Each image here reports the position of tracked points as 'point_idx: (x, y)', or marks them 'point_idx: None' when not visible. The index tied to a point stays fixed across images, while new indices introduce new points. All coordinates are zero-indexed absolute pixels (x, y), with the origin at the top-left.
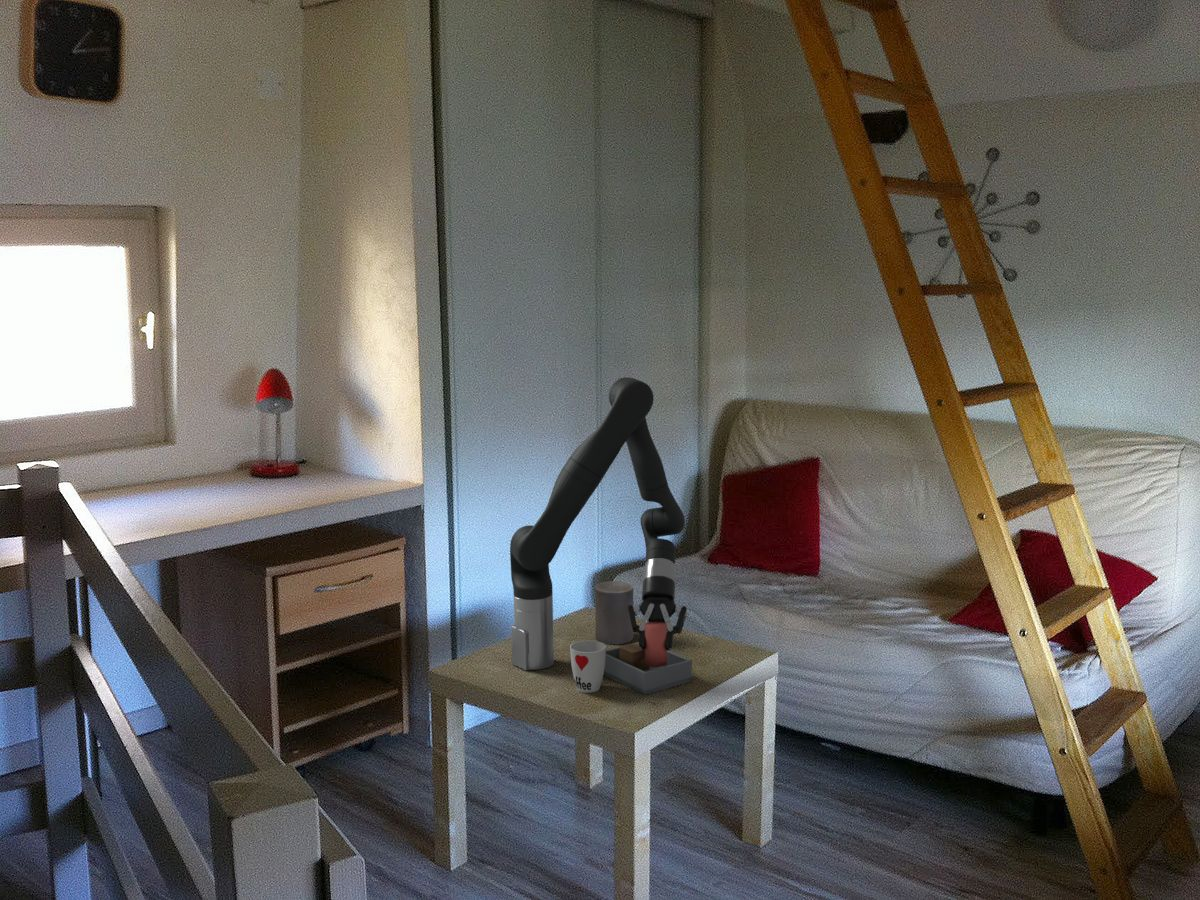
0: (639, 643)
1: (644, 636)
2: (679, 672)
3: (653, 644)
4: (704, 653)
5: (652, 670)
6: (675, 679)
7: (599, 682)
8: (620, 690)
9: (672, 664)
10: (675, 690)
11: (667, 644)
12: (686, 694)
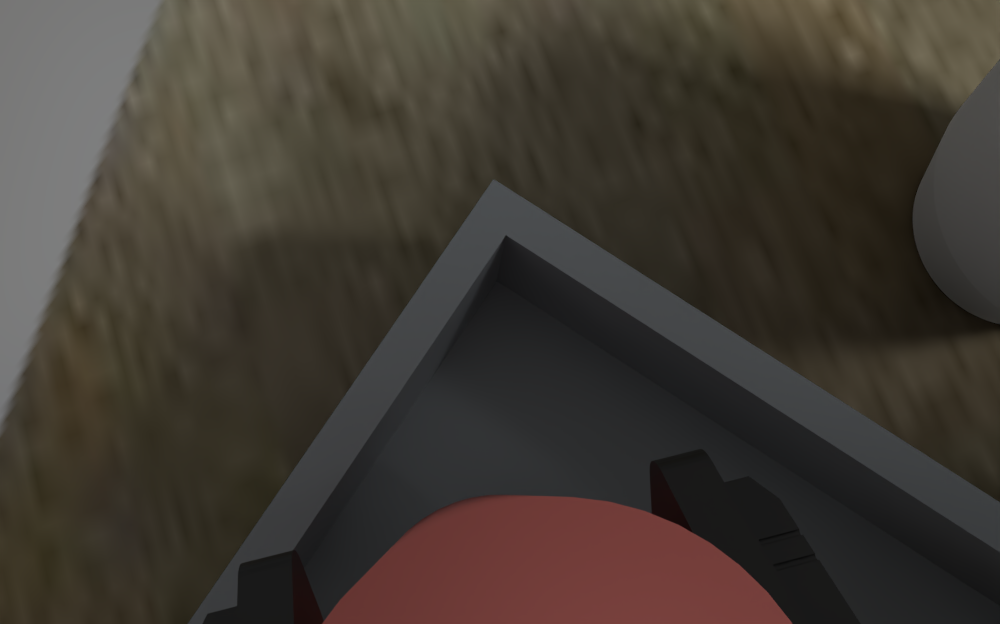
0: (756, 493)
1: None
2: None
3: (503, 496)
4: None
5: (440, 304)
6: None
7: (933, 162)
8: (732, 282)
9: None
10: (245, 449)
11: (263, 575)
12: (117, 386)
